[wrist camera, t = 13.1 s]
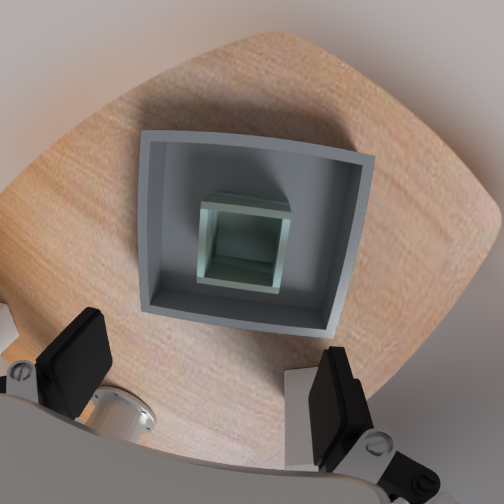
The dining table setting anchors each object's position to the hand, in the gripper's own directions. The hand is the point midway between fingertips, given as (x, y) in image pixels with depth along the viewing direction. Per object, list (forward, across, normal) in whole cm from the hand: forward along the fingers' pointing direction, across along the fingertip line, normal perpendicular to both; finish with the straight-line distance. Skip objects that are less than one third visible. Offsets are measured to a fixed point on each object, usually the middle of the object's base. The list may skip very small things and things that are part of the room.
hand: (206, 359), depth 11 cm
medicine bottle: (+20, +46, +23) cm, 55 cm away
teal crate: (+19, 0, 0) cm, 19 cm away
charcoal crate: (+20, 0, 0) cm, 20 cm away
